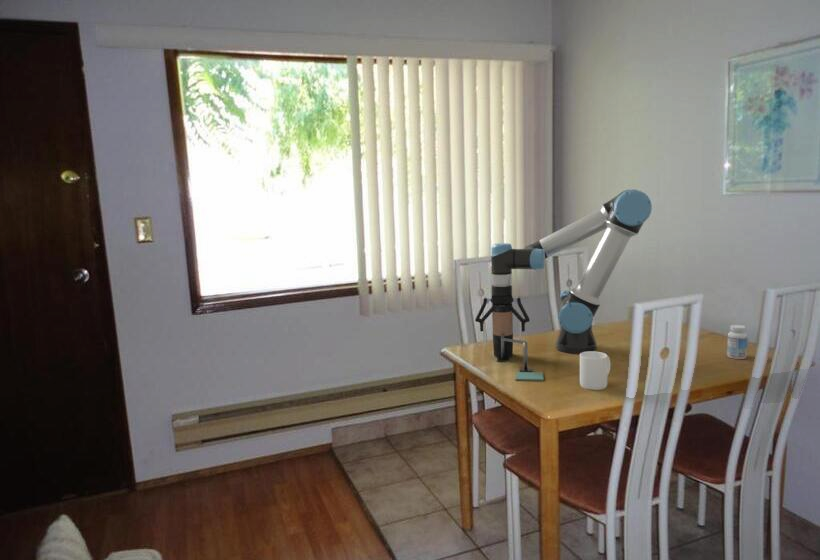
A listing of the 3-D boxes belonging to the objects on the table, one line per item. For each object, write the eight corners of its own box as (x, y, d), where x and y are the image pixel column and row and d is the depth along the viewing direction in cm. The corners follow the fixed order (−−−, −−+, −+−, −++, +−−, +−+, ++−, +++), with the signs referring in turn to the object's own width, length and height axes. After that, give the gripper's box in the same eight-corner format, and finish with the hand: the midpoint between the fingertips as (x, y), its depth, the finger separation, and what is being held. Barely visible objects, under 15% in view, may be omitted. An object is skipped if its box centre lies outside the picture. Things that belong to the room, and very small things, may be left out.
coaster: (542, 374, 189) (542, 372, 189) (543, 380, 182) (543, 379, 182) (515, 373, 191) (515, 372, 191) (515, 380, 184) (515, 378, 184)
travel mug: (513, 358, 208) (512, 306, 205) (492, 358, 210) (491, 306, 207) (513, 352, 216) (512, 302, 212) (493, 352, 217) (492, 302, 214)
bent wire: (530, 358, 207) (529, 331, 205) (531, 372, 191) (531, 343, 190) (497, 358, 209) (497, 331, 207) (496, 372, 194) (495, 343, 192)
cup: (574, 385, 177) (574, 354, 176) (599, 377, 184) (599, 347, 182) (595, 392, 170) (595, 360, 169) (620, 383, 177) (620, 353, 175)
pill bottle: (745, 355, 199) (747, 324, 197) (747, 360, 194) (749, 328, 192) (726, 354, 202) (727, 323, 200) (727, 358, 196) (729, 327, 194)
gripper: (535, 282, 210) (535, 337, 213) (469, 283, 214) (470, 336, 218) (536, 286, 202) (536, 342, 206) (467, 286, 207) (468, 341, 210)
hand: (502, 339), depth 212 cm, fingers open, 13 cm apart
